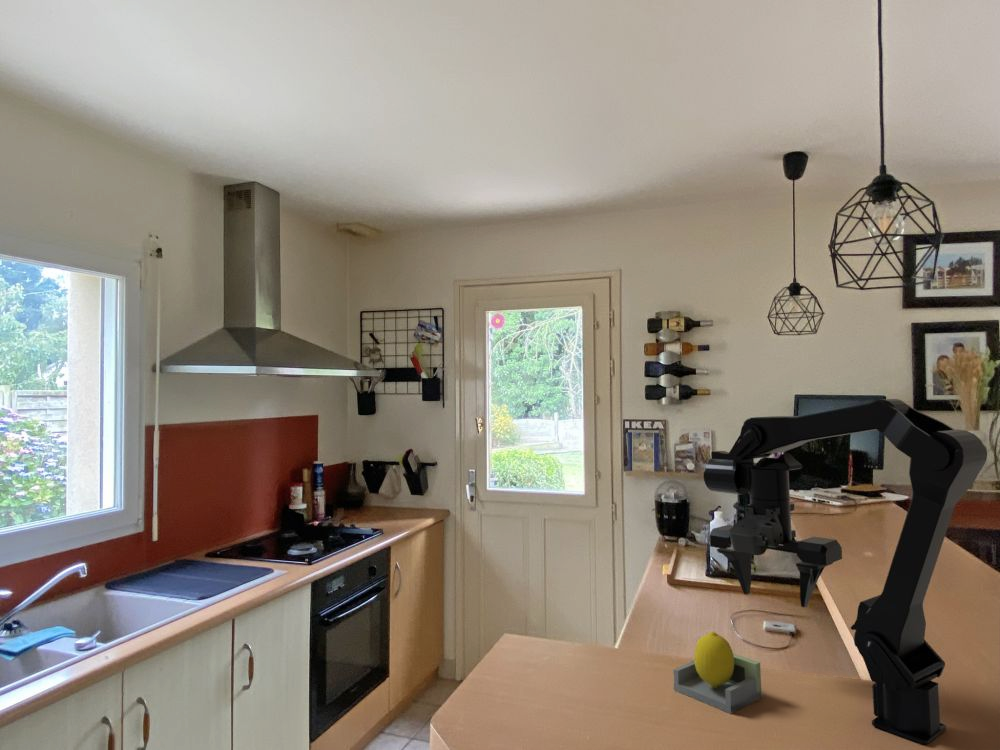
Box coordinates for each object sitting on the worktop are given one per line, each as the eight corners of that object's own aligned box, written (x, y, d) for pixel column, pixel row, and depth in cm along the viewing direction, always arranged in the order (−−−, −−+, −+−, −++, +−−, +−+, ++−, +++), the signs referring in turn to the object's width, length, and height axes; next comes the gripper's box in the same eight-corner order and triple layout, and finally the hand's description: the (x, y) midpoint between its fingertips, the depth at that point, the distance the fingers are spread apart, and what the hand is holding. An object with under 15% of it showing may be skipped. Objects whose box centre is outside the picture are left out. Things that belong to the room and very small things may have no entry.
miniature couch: (761, 697, 94) (760, 662, 94) (730, 713, 90) (729, 676, 90) (705, 676, 102) (703, 643, 102) (673, 689, 97) (672, 655, 98)
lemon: (725, 679, 98) (723, 624, 99) (741, 695, 93) (739, 637, 93) (689, 680, 98) (687, 626, 98) (703, 697, 92) (701, 639, 93)
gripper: (687, 498, 104) (691, 598, 103) (804, 510, 89) (810, 627, 88) (726, 490, 111) (730, 584, 110) (840, 501, 96) (846, 609, 95)
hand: (774, 600), depth 101 cm, fingers open, 9 cm apart
